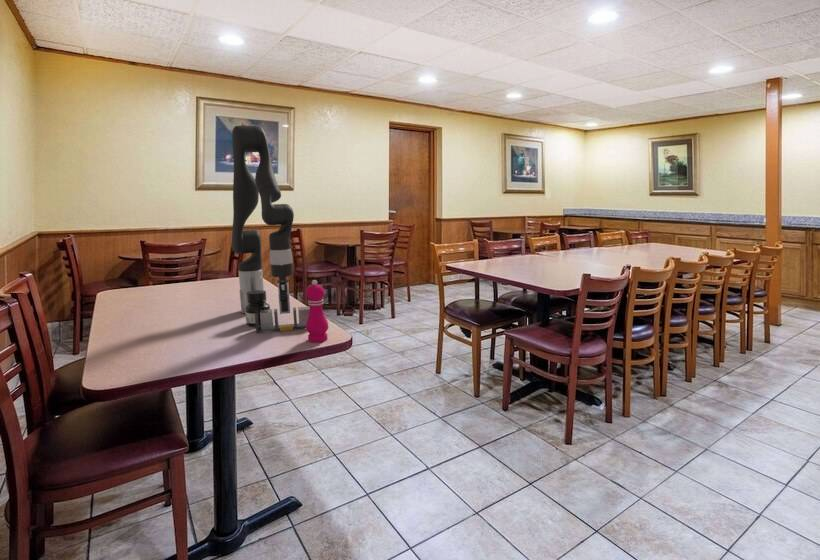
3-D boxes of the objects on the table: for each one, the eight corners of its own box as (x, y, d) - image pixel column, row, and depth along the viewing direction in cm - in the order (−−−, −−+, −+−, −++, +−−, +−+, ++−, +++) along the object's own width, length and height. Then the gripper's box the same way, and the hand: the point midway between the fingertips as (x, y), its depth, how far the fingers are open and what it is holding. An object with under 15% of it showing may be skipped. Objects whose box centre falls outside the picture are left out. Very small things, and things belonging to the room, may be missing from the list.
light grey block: (280, 314, 171) (278, 294, 170) (280, 310, 176) (278, 291, 175) (290, 313, 172) (288, 293, 171) (290, 310, 177) (288, 291, 175)
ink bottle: (245, 321, 186) (242, 290, 184) (269, 318, 189) (266, 288, 187) (247, 328, 177) (245, 295, 175) (272, 325, 181) (270, 293, 178)
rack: (256, 333, 170) (254, 313, 169) (256, 329, 175) (255, 310, 174) (316, 328, 175) (314, 309, 174) (315, 324, 180) (314, 306, 178)
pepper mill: (317, 335, 166) (314, 277, 163) (333, 338, 162) (330, 279, 159) (302, 341, 160) (298, 280, 157) (318, 344, 156) (314, 282, 153)
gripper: (270, 260, 177) (274, 306, 180) (269, 265, 163) (273, 315, 166) (292, 258, 178) (295, 304, 181) (292, 264, 165) (296, 313, 168)
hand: (285, 309), depth 174 cm, fingers closed on light grey block, 4 cm apart
